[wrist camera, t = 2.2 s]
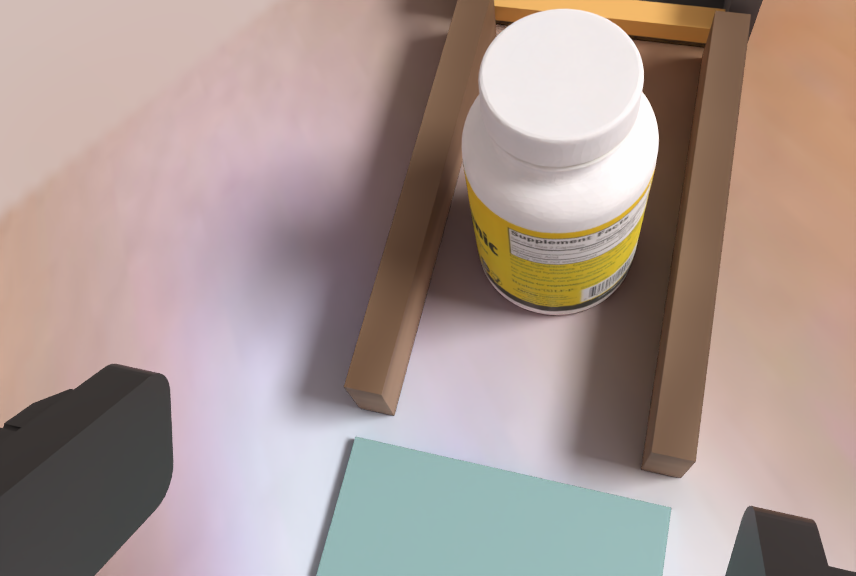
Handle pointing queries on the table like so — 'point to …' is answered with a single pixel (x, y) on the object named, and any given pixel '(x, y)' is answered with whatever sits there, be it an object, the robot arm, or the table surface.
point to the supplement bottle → (559, 160)
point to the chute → (692, 256)
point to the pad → (481, 522)
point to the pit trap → (641, 15)
